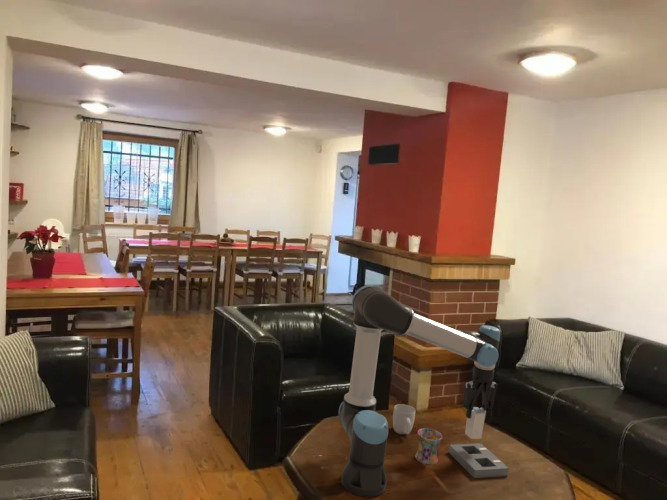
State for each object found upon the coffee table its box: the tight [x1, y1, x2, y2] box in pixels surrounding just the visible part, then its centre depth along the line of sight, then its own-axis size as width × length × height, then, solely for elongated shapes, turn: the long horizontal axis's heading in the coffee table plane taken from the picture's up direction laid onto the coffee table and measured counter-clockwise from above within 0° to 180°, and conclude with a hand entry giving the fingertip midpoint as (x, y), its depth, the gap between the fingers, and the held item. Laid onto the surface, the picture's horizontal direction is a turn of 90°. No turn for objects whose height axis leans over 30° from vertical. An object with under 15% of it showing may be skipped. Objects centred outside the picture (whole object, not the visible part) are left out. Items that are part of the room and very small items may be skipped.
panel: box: [448, 442, 510, 479], centre depth 194 cm, size 14×18×4 cm
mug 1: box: [392, 403, 416, 435], centre depth 214 cm, size 13×9×10 cm
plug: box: [464, 406, 486, 440], centre depth 197 cm, size 4×4×11 cm
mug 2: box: [414, 427, 443, 466], centre depth 195 cm, size 12×9×11 cm
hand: (474, 425), depth 197 cm, fingers closed on plug, 4 cm apart
